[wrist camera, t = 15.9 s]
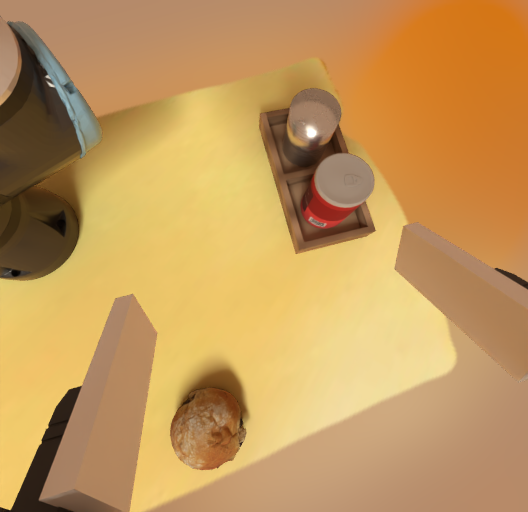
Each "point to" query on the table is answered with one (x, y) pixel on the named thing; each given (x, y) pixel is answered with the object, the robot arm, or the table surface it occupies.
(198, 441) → the bread roll
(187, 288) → the table surface
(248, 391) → the table surface
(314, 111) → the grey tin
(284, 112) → the walnut crate
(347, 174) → the canned food
